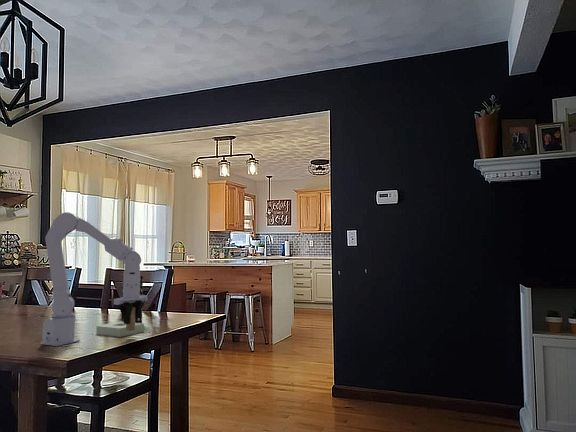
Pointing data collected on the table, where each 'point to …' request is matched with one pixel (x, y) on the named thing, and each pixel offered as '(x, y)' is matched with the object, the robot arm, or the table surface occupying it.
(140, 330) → the wick holder
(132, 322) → the peg
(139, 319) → the spotted tube
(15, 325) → the table surface
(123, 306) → the robot arm
